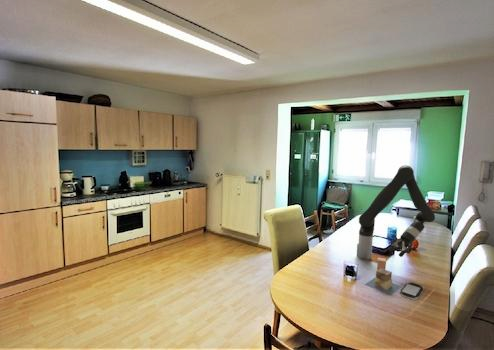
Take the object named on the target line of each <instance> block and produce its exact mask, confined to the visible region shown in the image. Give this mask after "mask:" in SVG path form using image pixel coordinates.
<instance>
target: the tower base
mask: <svg viewBox="0 0 494 350" xmlns="http://www.w3.org/2000/svg"><path fill="white" fill-rule="evenodd" d="M374 278H375V282H374V285H375V286H378V287H380V288H383V289H385V290H387V289H389V288H390V287H391V286H392V283H393V278H392V277H391V279H390V280H388V281H387V282H386V281H383V280H381V279H378V278H376V276H375V277H374Z"/></svg>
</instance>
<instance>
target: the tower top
mask: <svg viewBox="0 0 494 350" xmlns="http://www.w3.org/2000/svg"><path fill="white" fill-rule="evenodd" d="M375 274H376V275H375V277H376V278H378V279H381V280H383V281H386V282H387V281H388V280H390V279H391V278H392V274H393V273H392V271H390V270H387V269H385V270H384V269H382V268H381V269H379V270H378V271H377V270H376V273H375Z"/></svg>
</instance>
